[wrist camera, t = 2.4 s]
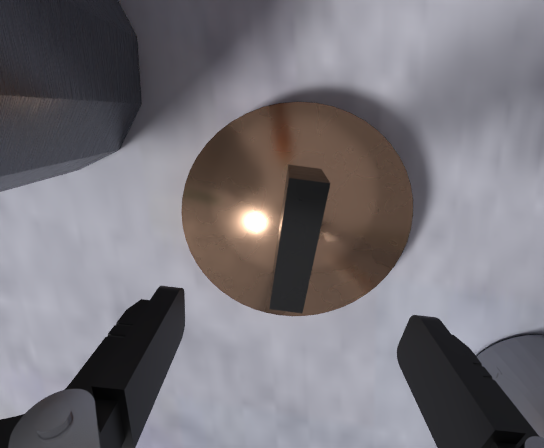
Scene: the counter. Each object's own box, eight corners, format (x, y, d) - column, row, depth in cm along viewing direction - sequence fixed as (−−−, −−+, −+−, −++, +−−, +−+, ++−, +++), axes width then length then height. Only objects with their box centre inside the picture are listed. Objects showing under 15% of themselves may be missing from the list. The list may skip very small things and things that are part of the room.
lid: (434, 119, 16) (498, 123, 11) (368, 311, 22) (392, 368, 17) (190, 87, 16) (149, 76, 11) (190, 288, 22) (163, 338, 17)
